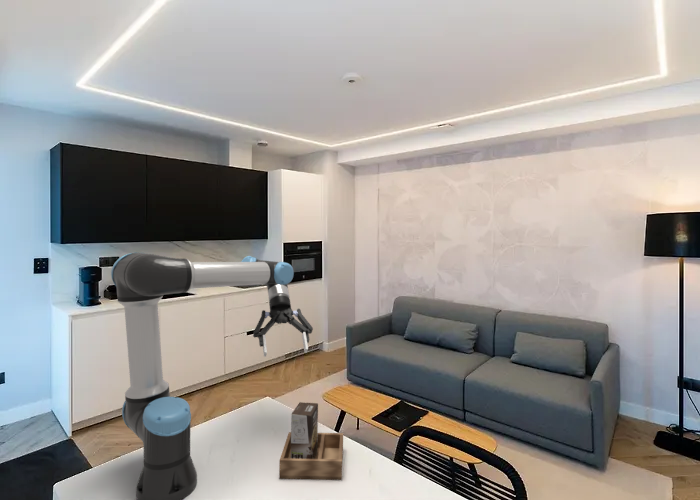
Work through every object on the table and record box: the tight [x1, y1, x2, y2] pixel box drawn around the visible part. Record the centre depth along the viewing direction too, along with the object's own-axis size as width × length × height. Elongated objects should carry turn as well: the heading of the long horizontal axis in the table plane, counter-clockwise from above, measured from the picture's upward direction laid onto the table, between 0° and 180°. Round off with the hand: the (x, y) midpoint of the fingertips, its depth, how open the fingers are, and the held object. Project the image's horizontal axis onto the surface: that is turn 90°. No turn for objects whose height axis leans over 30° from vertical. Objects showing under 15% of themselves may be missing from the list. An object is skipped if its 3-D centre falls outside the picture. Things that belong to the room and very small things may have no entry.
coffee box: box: [290, 401, 319, 459], centre depth 118 cm, size 9×6×16 cm
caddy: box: [278, 431, 344, 481], centre depth 118 cm, size 18×16×6 cm
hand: (286, 352), depth 126 cm, fingers open, 13 cm apart
